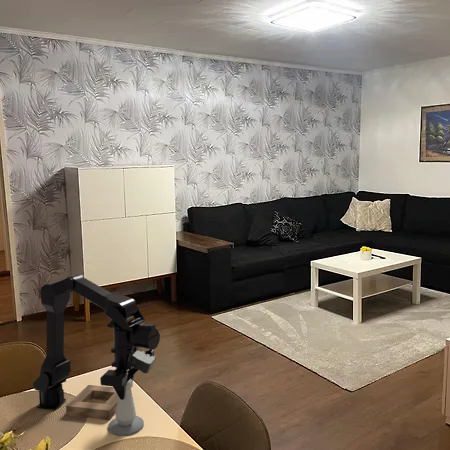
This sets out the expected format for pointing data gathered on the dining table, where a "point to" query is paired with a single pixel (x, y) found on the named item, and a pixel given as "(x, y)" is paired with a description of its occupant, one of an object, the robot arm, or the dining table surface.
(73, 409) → the walnut frame
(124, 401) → the salt shaker
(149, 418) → the dining table surface
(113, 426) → the slate coaster
